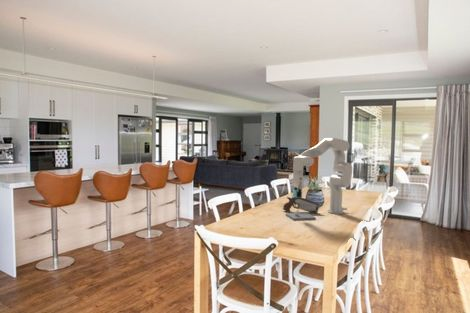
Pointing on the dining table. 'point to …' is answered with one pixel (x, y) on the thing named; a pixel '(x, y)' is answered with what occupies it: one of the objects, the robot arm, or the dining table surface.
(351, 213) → the dining table surface
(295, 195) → the teal rectangular block
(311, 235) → the dining table surface
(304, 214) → the board
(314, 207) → the gun
